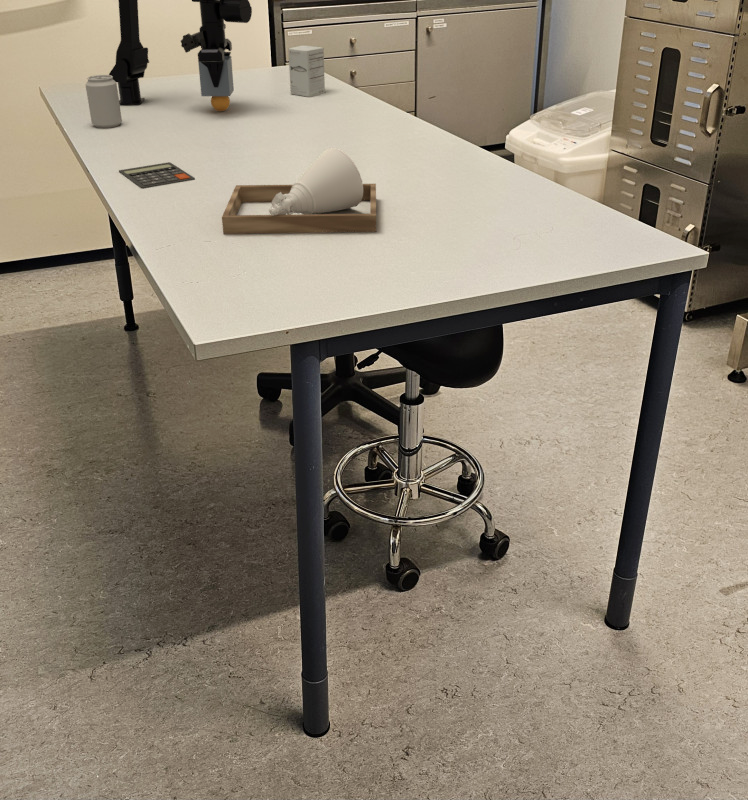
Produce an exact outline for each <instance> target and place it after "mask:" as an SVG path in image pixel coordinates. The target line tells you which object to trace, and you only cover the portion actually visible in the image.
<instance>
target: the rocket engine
mask: <svg viewBox="0 0 748 800" xmlns="http://www.w3.org/2000/svg"><path fill="white" fill-rule="evenodd" d="M363 184H364V183H363V179H362V176H361V173H360V171H359V169H358V167H357V165H356V164H355V162H354V161H353V160H352V158H351V157H350V156H349V155H348V154H347V153H345V152H344V151H343V150H342V149H339V148H337V147H336V148H335V147H329V148H327V149H326V150H324V151H323V152H321V154H319V156H317V157H316V159H314V161H312V162H311V164H309V166H308V167H307V168H306V169H305V170H304V171H303V173H302V174H301V176H300V177H299V178H298V179H297V181H296V182H294V183H293V184H292V185H293V186H292V188H291V190H290V193H288V194H284V195H283V194H282V193H281V192H280V193H278V194H276V196H275V197H274V199H273V201H272V202H271V206H270V208H269V209H268V213H269V215H273V216H274V215H294V214H297V215H300V214H322V213H323V214H324V213H329V212H337V211H343V210H347V209H351V208H354V207H356V206H358V205H359V204H360V203H361V202H362V201H361V200H362V197H363ZM285 198H286V199H285ZM283 199H284V200H283ZM281 200H283V201H282V202H281Z"/></svg>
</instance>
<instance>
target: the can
mask: <svg viewBox="0 0 748 800" xmlns="http://www.w3.org/2000/svg"><path fill="white" fill-rule="evenodd" d="M86 79H87V82H86V83H85V91H86V96H87V104H88V108H89V115H90V120H91V124H92V125H93V126H95V127H96V128H97V129H99V128H100V129H109V128H115V127H118V126H119V125H120V124H121V123H122V122H123V118H122V112H121V111H122V110H121V105H120V104H119V100H120V96H119V89H118V82H115V81H114V80H113V76H111V75H109V74H94V75H90V76H87V78H86Z"/></svg>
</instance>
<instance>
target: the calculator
mask: <svg viewBox="0 0 748 800" xmlns="http://www.w3.org/2000/svg"><path fill="white" fill-rule="evenodd" d="M118 173H119V174H120V175H122V176H124V177H125V178H126V179H127V180H129V181H131V182H132V183H133V184H134V185H136V186H137V187H138V188H140V189H149V188H154V187H160V186H167V185H171V184H177V183H183V182H190V181H194V180H196V178H195V177H194V176H193V175H191V174H190V173H188V172H186V171H185V170H183V169H181V168H180V167H178V166H177V165H175V164H174V163H172V162H163V163H157V164H156V163H155V164H150V165H143V166H138V167H130V168H126V169H119V170H118Z"/></svg>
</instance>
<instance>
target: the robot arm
mask: <svg viewBox="0 0 748 800" xmlns="http://www.w3.org/2000/svg"><path fill="white" fill-rule="evenodd" d="M138 1H139V0H118V14H119V29H120V30H119V32H120V33H119V34H120V42H119V44H118V47H117V48H116V53H115V64H114V66H112V69H111V70H110V71H109V74H108V75H111V76H113V80H114V81H115V82H116V83H117V89H118V96H119V104H120V106H122V105H123V106H124V105H129V106H130V105H141V104H142V103H143V102H144V101H145V100H146V99H145V97H142V95H141V88H140V82H139V81H140V79H143V78H144V77H145V71H146V70H147V68H148V64H149V63H150V60H149V48H148V47H144V46H143V44H142V42H141V39H140V26H139V25H140V24H139V22H140V21H139V3H138ZM191 2H193V3H199V10H200V21H201V26H200V27H199V31H198V32H195V33H193V34H191V33H186V34H185V35H183V36H182V39H181V40H180V43H181V45H180V47H181V48H183V50H184V52H185V53H187V54H188V52H191V51H192V50H194V49H196V48H198V47H200V50H199V51H198V52H197V59H198V60H197V62H198V61H200V62H201V63H202V64H204V65H205V66H206V67H207V68H208V71H209V74H210V77H211V80H212V83H213V86H214V87H218V86H219V82H220V78H221V74H222V70H223V66H224V62H225V60H224V56H231V55H232V50H233V45H232V41H231V40H230V39H229V38H226V32H225V31H226V30H225V29H226V27H227V26H226V23H239V24H240V23H241V24H248V23H249V22H250V21H251V18H252V14H253V9H252V6H251V3H250V1H249V0H191ZM226 50H227V51H226Z"/></svg>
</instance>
